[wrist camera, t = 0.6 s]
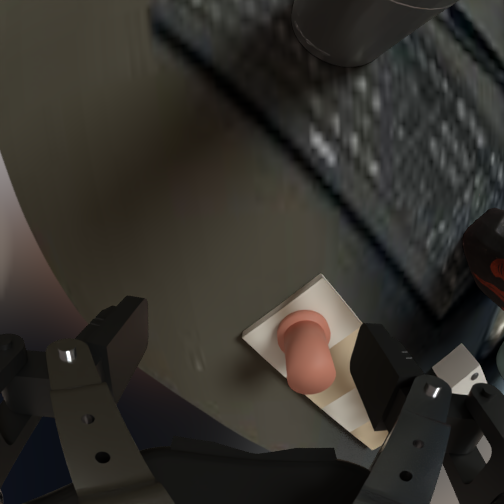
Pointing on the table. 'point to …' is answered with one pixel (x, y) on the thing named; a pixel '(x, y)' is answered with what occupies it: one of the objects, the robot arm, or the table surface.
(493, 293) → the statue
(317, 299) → the board
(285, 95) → the table surface
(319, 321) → the pawn
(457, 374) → the die
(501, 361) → the cup
